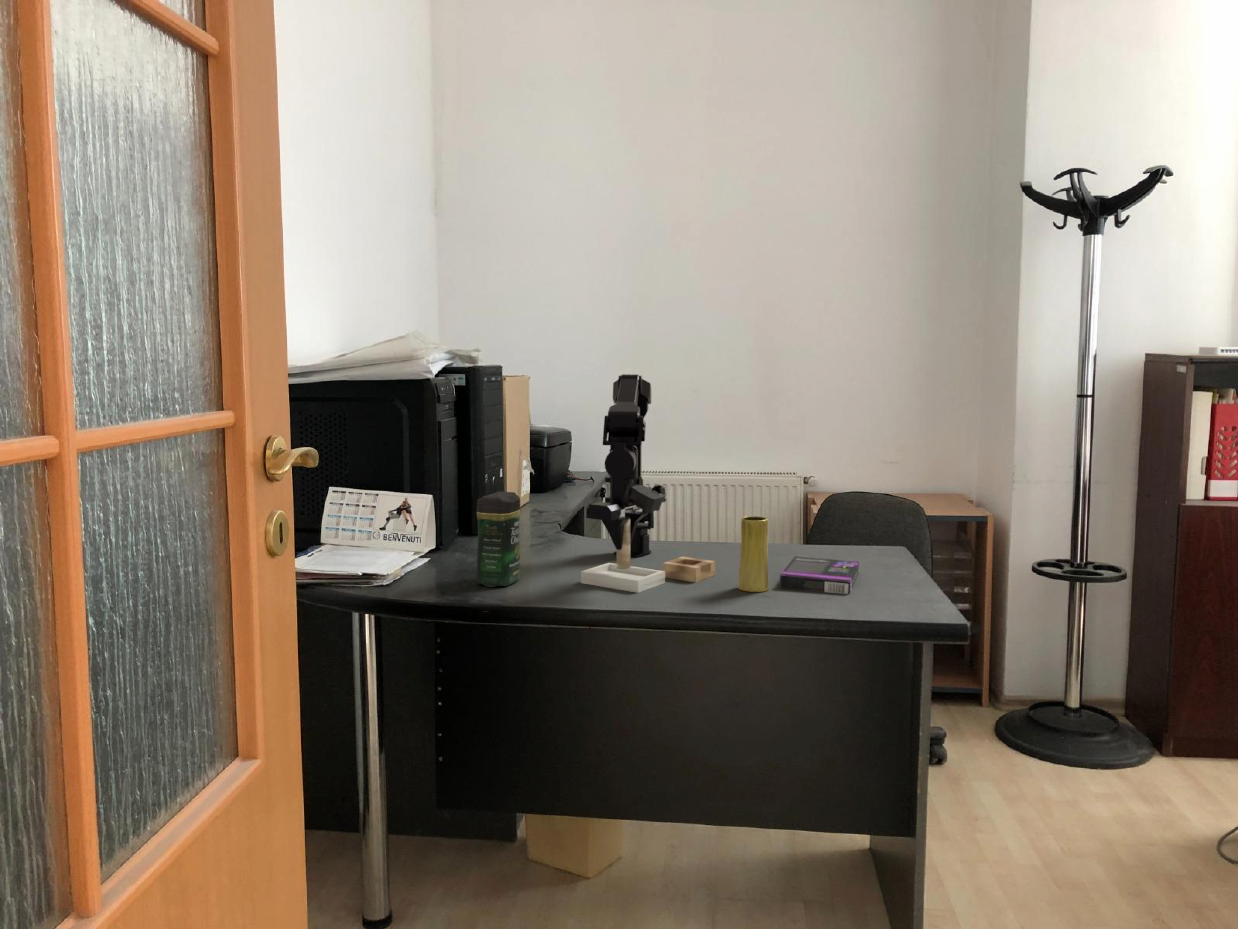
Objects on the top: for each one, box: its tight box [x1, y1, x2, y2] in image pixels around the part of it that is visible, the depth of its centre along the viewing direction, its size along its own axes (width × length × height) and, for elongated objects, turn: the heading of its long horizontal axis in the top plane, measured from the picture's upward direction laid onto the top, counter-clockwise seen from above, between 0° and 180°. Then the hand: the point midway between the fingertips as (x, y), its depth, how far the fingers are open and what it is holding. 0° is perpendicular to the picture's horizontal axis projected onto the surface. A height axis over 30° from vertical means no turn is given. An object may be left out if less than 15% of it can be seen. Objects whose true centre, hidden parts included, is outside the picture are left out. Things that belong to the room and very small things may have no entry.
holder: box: [662, 556, 716, 583], centre depth 208 cm, size 8×8×3 cm
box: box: [779, 555, 860, 595], centre depth 205 cm, size 14×4×20 cm
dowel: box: [616, 519, 631, 569], centre depth 201 cm, size 3×3×10 cm
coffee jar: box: [476, 490, 522, 588], centre depth 201 cm, size 10×8×19 cm
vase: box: [737, 515, 769, 593], centre depth 197 cm, size 6×6×14 cm
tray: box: [580, 562, 666, 594], centre depth 202 cm, size 14×10×2 cm
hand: (623, 548), depth 201 cm, fingers closed on dowel, 3 cm apart
